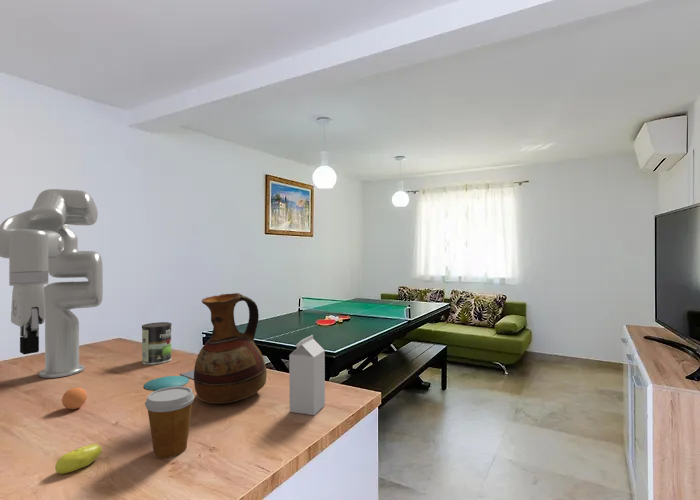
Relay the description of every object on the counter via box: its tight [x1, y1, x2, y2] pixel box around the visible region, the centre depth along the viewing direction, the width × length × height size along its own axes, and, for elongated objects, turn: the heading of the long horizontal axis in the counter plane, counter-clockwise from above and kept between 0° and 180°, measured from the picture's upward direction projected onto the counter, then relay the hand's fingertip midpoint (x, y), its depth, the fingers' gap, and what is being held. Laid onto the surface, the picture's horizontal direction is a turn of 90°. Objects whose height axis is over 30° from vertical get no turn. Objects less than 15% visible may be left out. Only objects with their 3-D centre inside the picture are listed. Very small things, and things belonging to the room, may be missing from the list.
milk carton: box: [288, 334, 326, 416], centre depth 102 cm, size 7×7×19 cm
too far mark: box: [179, 369, 194, 381], centre depth 132 cm, size 10×10×1 cm
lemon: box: [54, 443, 103, 475], centre depth 75 cm, size 4×8×4 cm, turn 145°
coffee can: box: [141, 321, 172, 366], centre depth 148 cm, size 10×10×14 cm
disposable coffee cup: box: [144, 386, 195, 459], centre depth 81 cm, size 10×10×12 cm
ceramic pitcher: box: [193, 292, 267, 404], centre depth 112 cm, size 20×20×30 cm
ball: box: [61, 386, 88, 410], centre depth 103 cm, size 6×6×6 cm
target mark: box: [143, 375, 190, 391], centre depth 123 cm, size 13×13×1 cm
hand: (29, 352), depth 96 cm, fingers closed
